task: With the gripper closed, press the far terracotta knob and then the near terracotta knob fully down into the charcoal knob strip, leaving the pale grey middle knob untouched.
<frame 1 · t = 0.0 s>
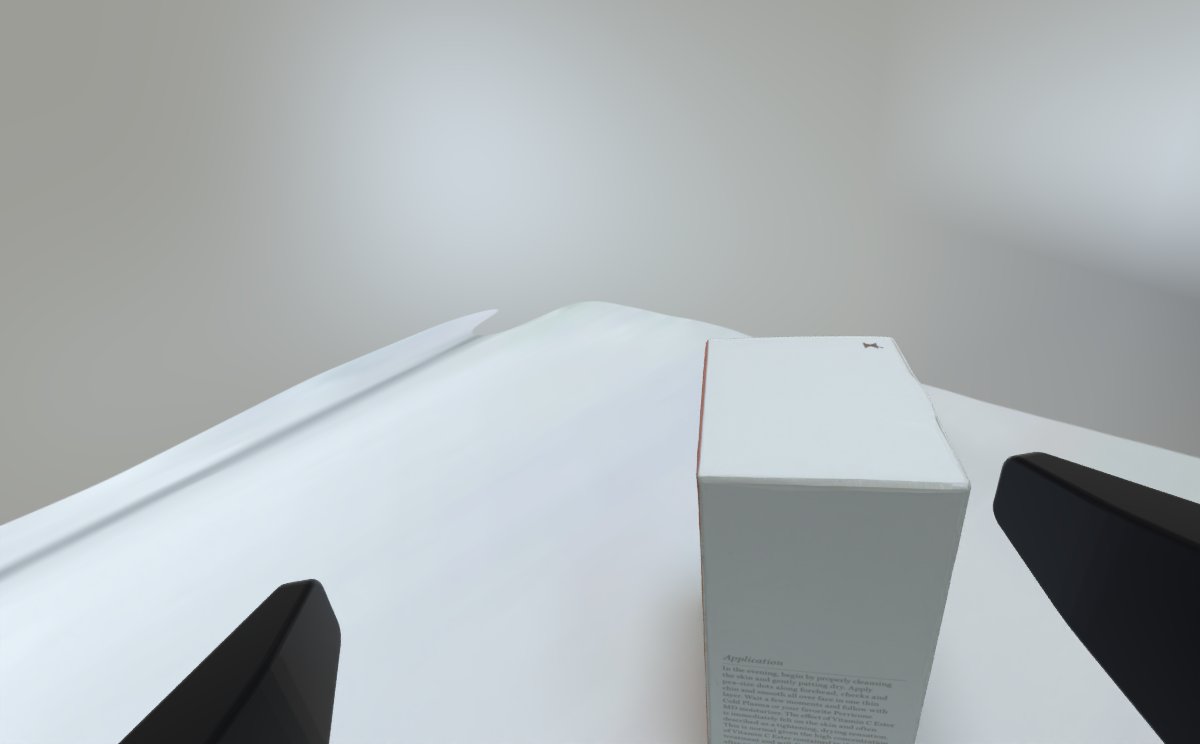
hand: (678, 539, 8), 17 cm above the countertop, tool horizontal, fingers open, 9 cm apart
small box: (790, 687, 24), on the countertop
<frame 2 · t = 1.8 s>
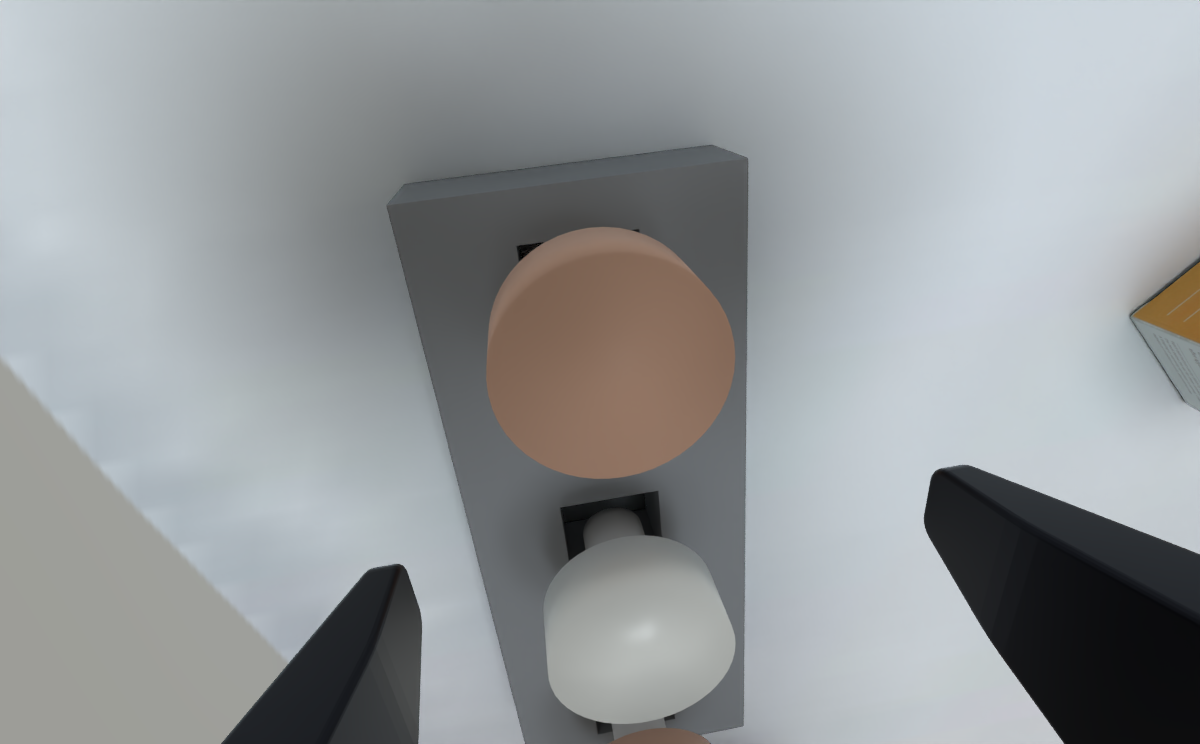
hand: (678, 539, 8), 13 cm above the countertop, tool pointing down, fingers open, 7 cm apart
knob middle: (626, 588, 18), point 5 cm above the countertop, slide at 0.0 cm
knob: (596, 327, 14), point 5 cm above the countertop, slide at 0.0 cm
knob strip: (601, 482, 23), on the countertop
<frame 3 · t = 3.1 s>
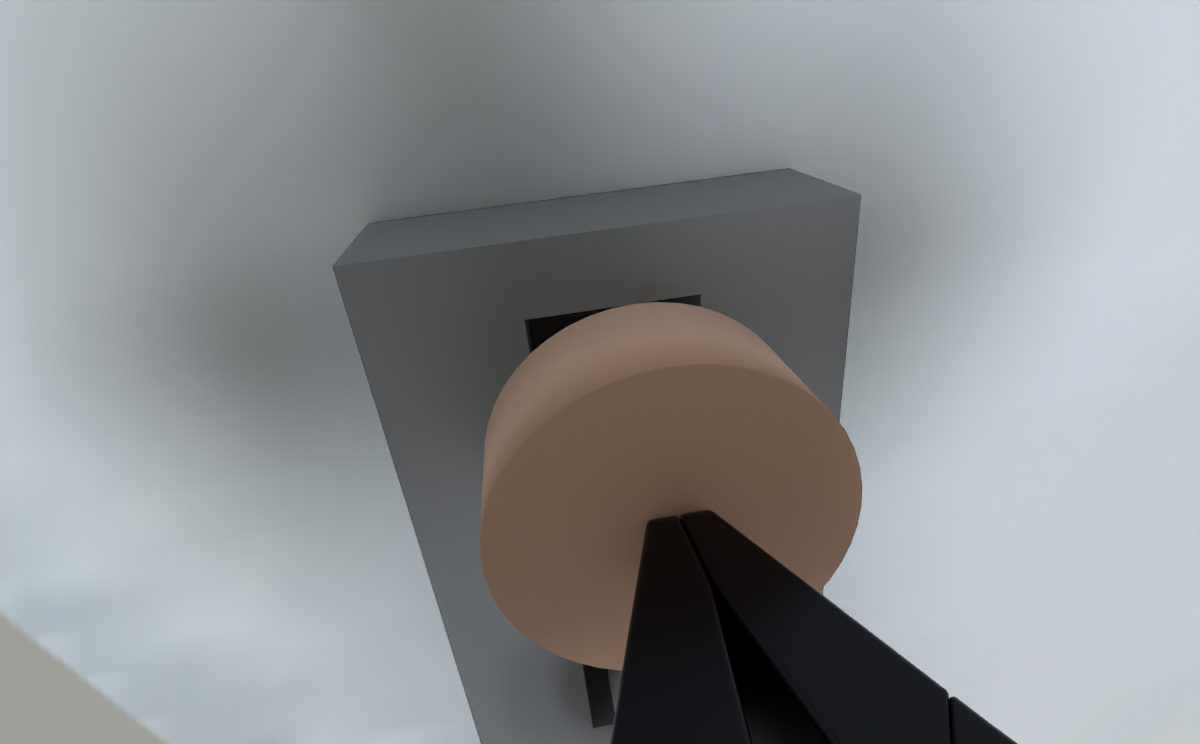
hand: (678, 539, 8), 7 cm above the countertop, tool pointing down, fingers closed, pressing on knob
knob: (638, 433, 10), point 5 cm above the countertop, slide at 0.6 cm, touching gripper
knob strip: (627, 587, 18), on the countertop
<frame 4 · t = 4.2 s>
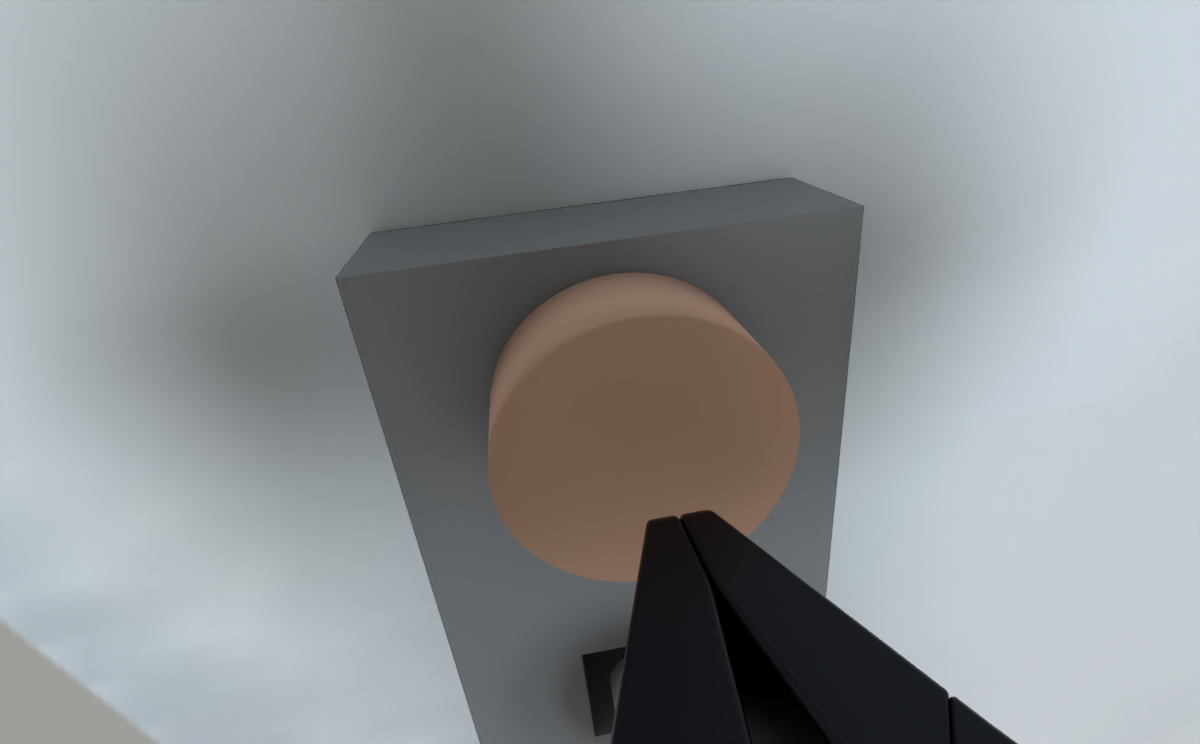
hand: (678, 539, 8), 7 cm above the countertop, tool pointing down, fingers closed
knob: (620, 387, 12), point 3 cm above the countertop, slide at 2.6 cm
knob strip: (629, 594, 18), on the countertop
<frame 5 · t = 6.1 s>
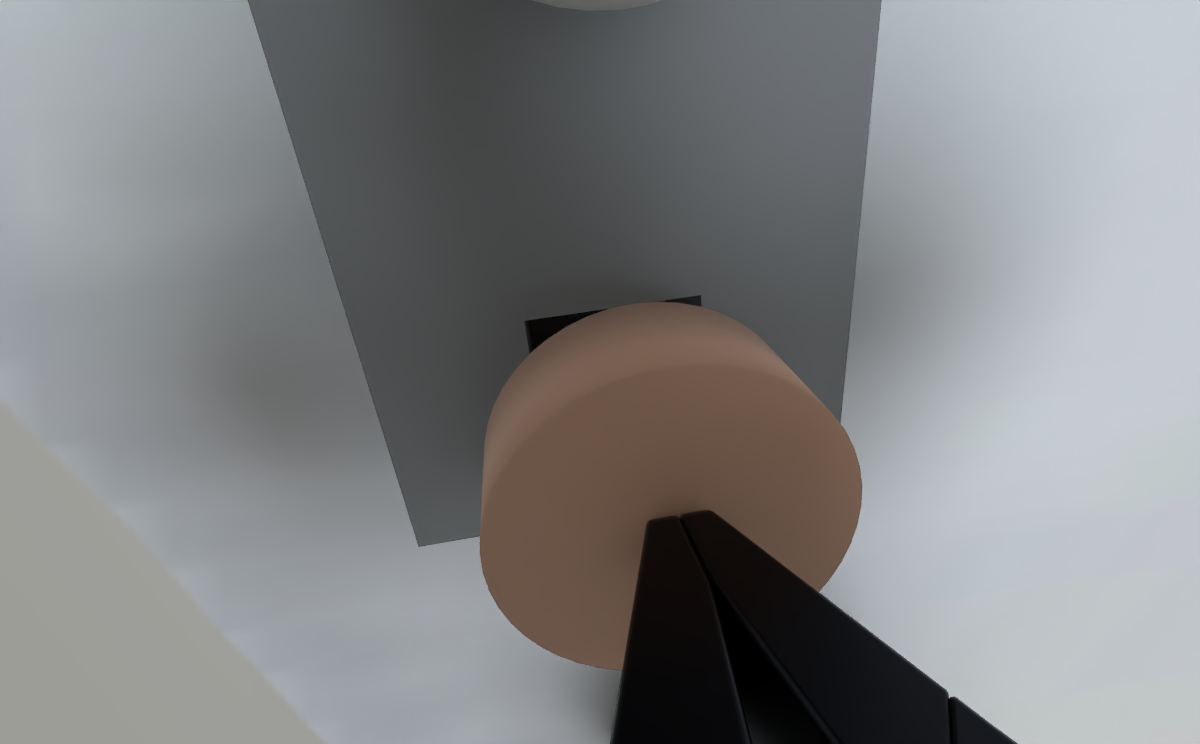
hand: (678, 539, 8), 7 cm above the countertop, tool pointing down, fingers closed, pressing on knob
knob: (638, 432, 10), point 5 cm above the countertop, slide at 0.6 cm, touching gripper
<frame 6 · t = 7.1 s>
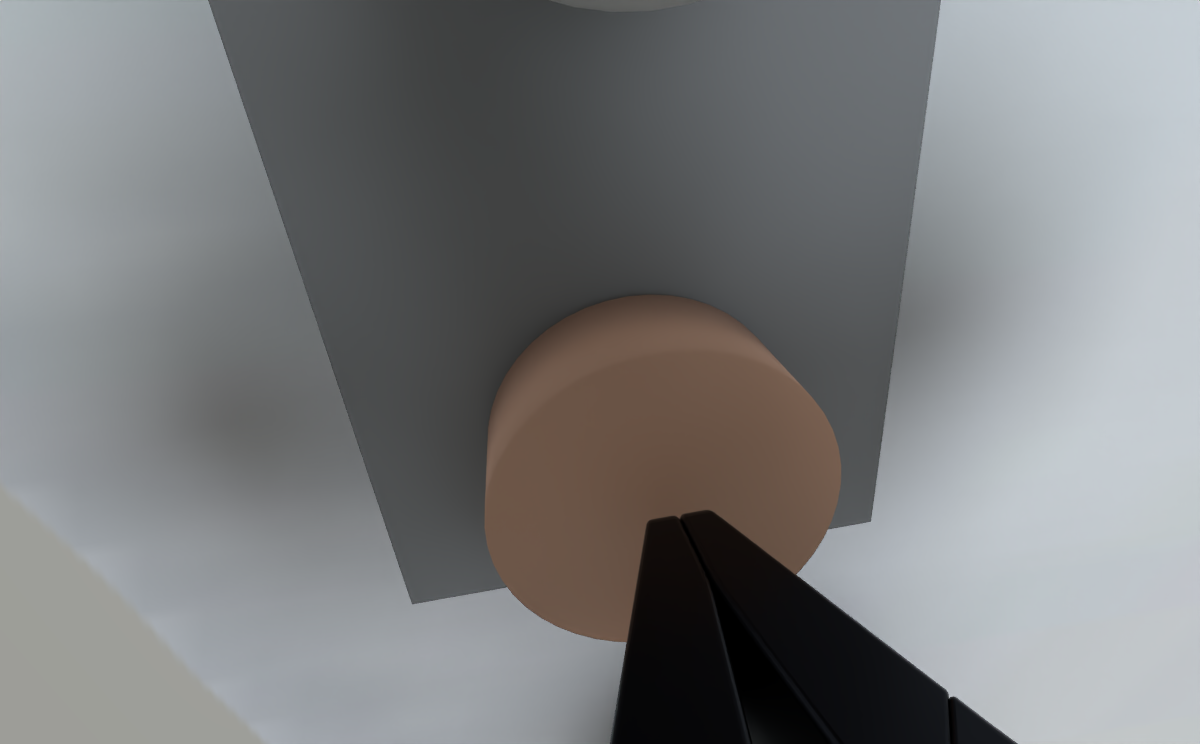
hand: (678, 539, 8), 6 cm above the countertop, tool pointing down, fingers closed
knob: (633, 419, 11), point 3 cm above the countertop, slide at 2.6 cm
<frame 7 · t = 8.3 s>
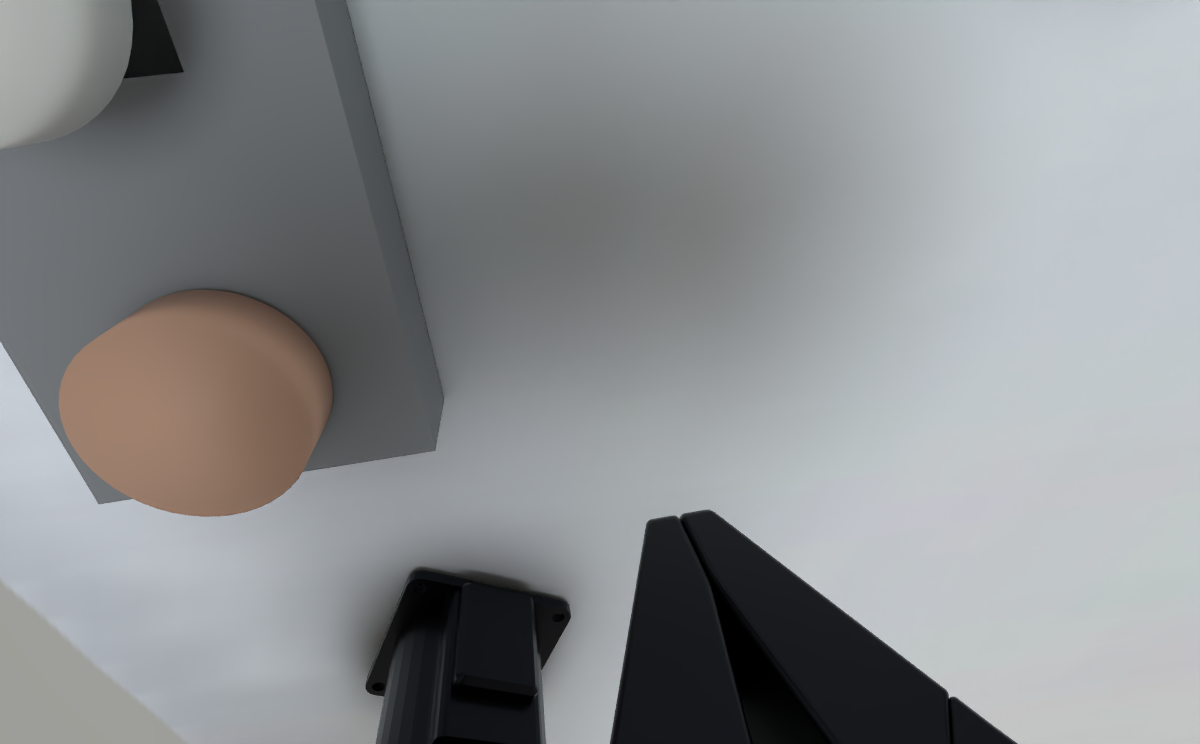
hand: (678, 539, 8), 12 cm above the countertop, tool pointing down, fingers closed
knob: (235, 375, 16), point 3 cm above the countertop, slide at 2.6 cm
knob strip: (143, 1, 14), on the countertop
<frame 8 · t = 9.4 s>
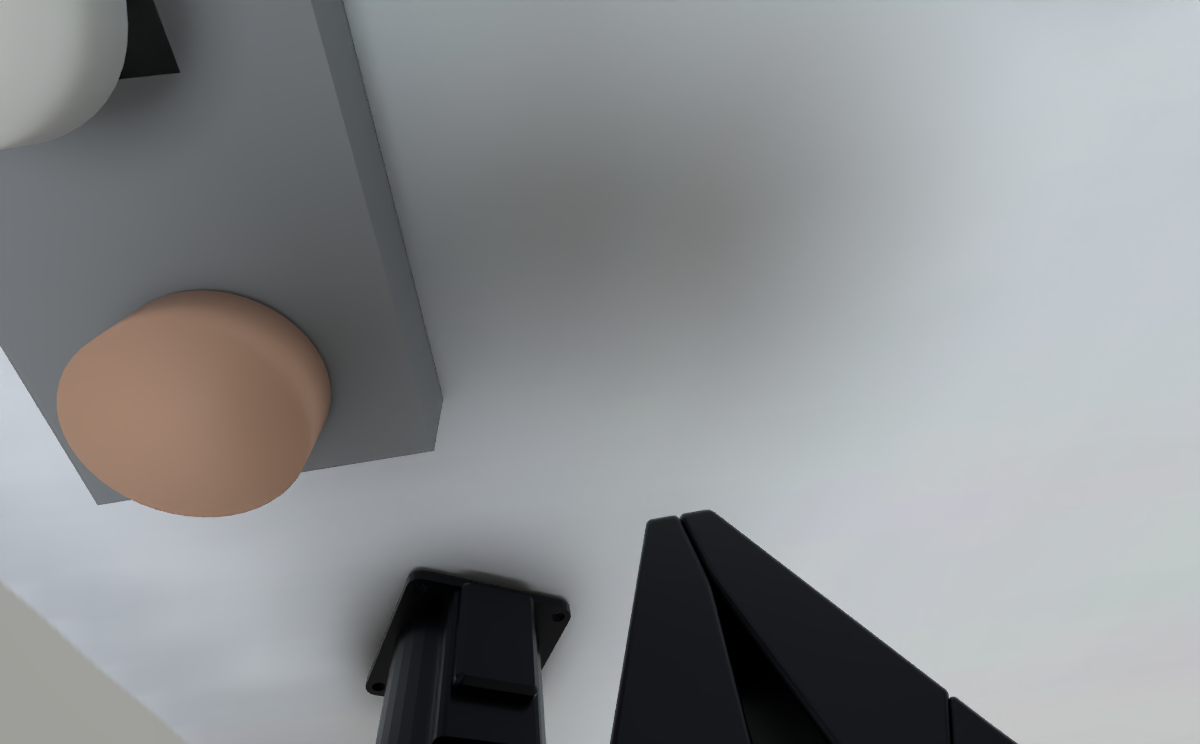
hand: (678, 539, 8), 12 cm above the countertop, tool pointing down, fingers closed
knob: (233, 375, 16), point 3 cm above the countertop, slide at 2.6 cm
knob strip: (140, 2, 14), on the countertop
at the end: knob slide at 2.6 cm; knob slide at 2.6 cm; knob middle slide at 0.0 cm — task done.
